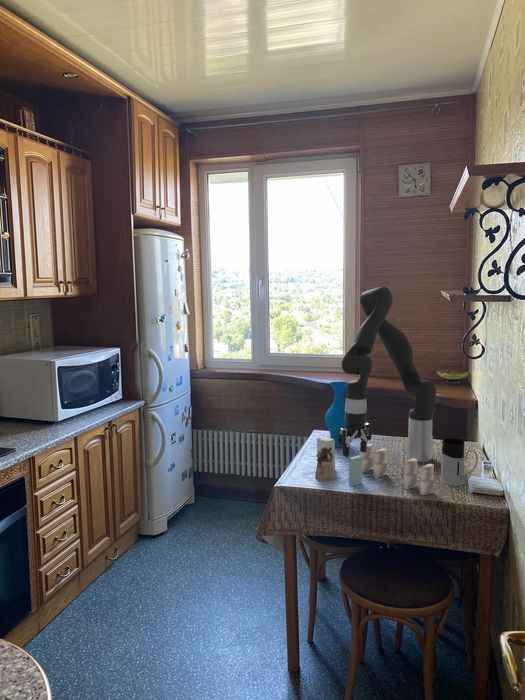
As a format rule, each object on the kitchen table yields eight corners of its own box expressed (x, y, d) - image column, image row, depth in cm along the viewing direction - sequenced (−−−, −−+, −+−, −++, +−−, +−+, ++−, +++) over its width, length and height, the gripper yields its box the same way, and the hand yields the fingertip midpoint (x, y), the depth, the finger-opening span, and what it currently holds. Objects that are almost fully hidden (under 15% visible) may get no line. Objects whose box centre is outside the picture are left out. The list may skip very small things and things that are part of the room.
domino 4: (412, 485, 189) (413, 458, 188) (416, 486, 188) (417, 459, 187) (403, 488, 186) (404, 461, 185) (407, 489, 185) (407, 462, 184)
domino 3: (382, 473, 201) (383, 448, 199) (386, 474, 199) (386, 449, 198) (373, 476, 198) (374, 450, 196) (377, 477, 196) (377, 451, 195)
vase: (356, 442, 239) (357, 382, 235) (345, 450, 228) (346, 387, 224) (331, 439, 245) (331, 379, 241) (320, 446, 234) (320, 384, 230)
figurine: (319, 473, 202) (319, 442, 200) (337, 476, 198) (337, 445, 197) (312, 479, 196) (312, 448, 194) (330, 482, 192) (330, 450, 191)
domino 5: (429, 491, 184) (429, 463, 182) (432, 492, 182) (433, 464, 181) (419, 494, 181) (420, 466, 179) (423, 496, 180) (424, 468, 178)
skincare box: (335, 469, 206) (335, 439, 204) (327, 471, 203) (327, 441, 201) (324, 465, 210) (324, 435, 209) (316, 467, 208) (316, 437, 206)
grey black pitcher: (449, 474, 199) (450, 436, 197) (483, 486, 187) (485, 445, 185) (434, 479, 194) (435, 440, 192) (468, 492, 182) (470, 450, 180)
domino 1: (358, 481, 193) (359, 455, 192) (361, 482, 192) (362, 456, 190) (348, 484, 190) (349, 457, 189) (352, 485, 189) (352, 459, 188)
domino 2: (369, 468, 206) (369, 443, 205) (372, 469, 205) (372, 444, 204) (360, 471, 203) (360, 446, 202) (363, 472, 202) (363, 447, 201)
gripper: (362, 405, 195) (361, 447, 197) (333, 410, 187) (332, 455, 189) (377, 409, 189) (376, 453, 191) (348, 415, 181) (347, 460, 183)
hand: (354, 454), depth 190 cm, fingers open, 8 cm apart
